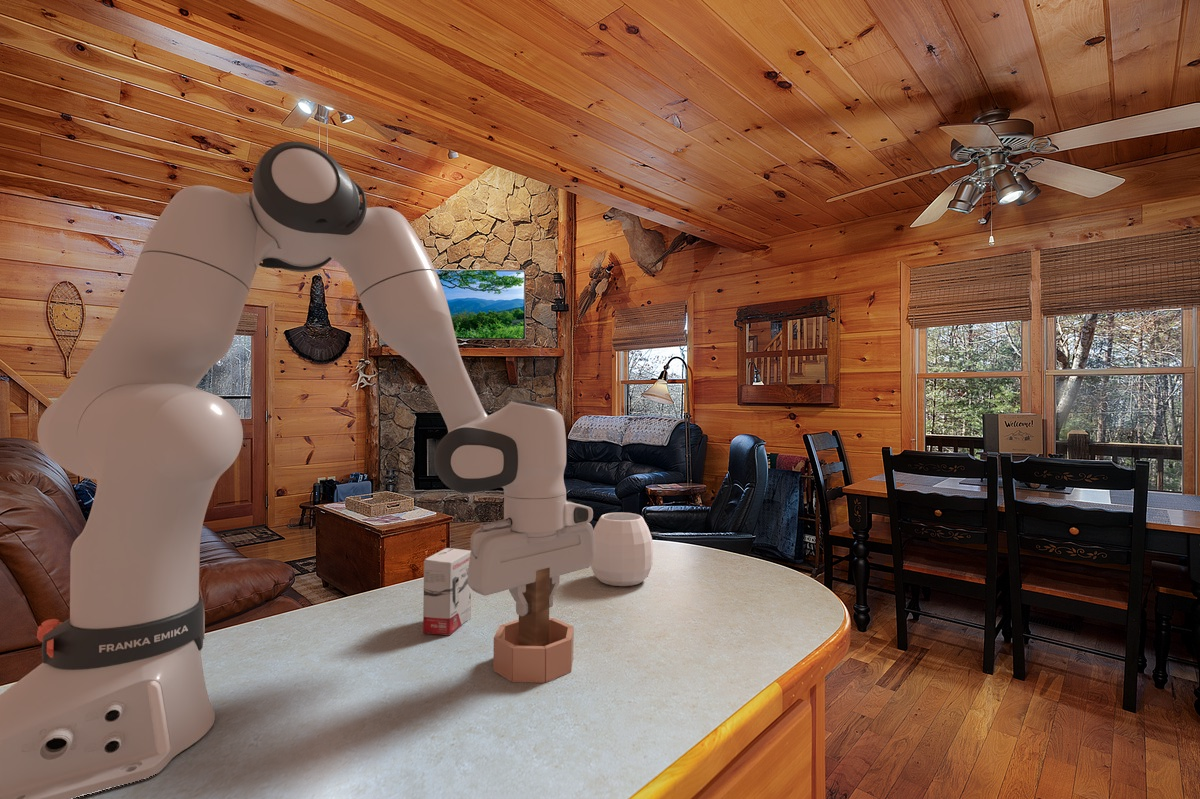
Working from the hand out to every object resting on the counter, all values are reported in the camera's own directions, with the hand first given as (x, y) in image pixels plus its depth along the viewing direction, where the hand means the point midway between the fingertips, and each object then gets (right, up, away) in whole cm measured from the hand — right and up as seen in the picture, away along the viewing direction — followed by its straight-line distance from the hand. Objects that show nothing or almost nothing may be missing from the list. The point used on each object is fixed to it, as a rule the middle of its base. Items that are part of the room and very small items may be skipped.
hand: (534, 610), depth 82 cm
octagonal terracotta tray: (0, -7, 0) cm, 7 cm away
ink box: (-16, -8, +13) cm, 22 cm away
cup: (+14, -8, +37) cm, 41 cm away
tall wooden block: (0, -6, 0) cm, 6 cm away
